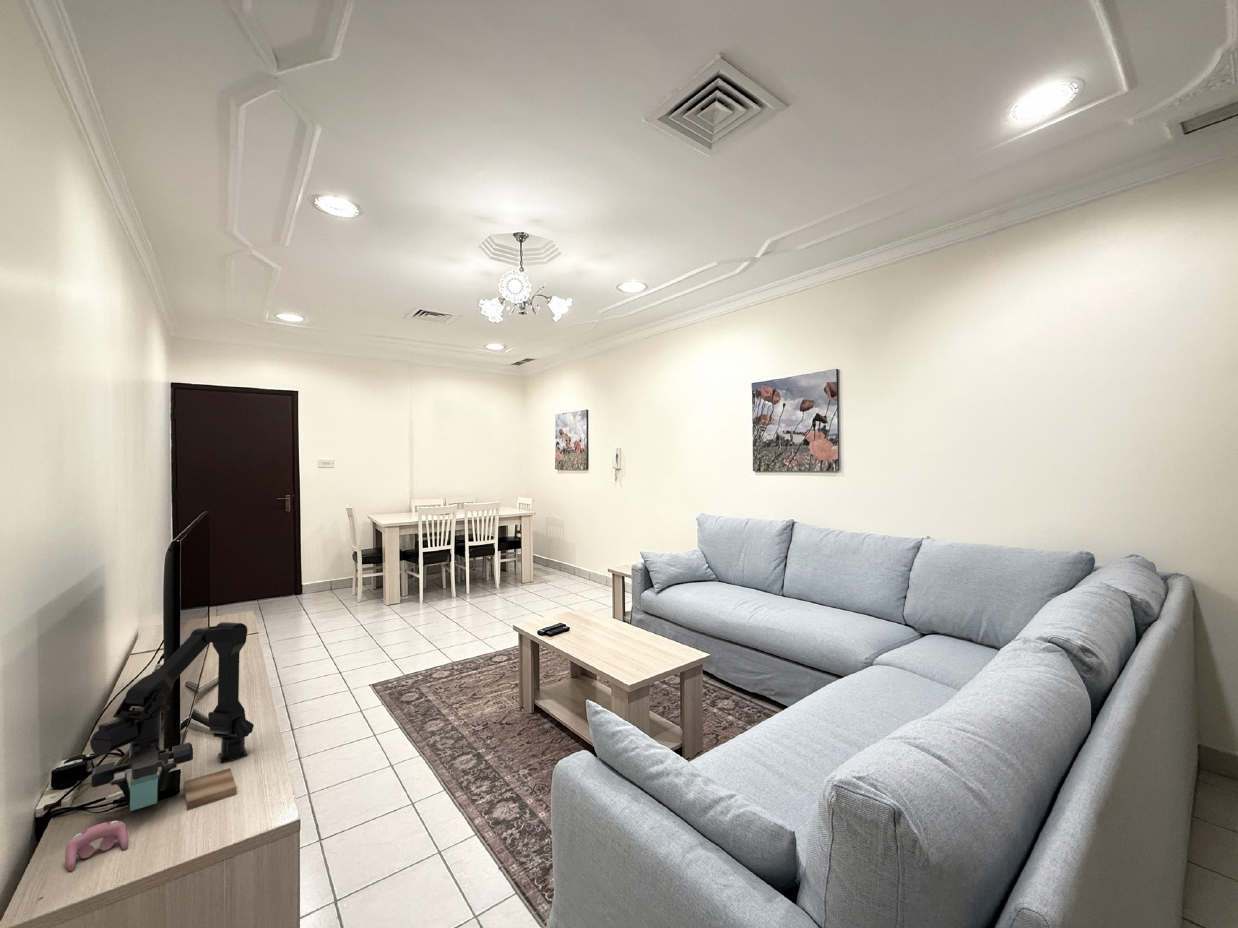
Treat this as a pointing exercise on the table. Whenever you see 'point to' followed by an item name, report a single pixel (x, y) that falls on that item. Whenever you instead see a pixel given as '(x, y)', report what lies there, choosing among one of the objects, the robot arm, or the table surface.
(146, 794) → the teal block
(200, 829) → the table surface
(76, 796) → the table surface
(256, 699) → the table surface
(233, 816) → the table surface
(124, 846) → the video game controller
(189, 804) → the base plinth
